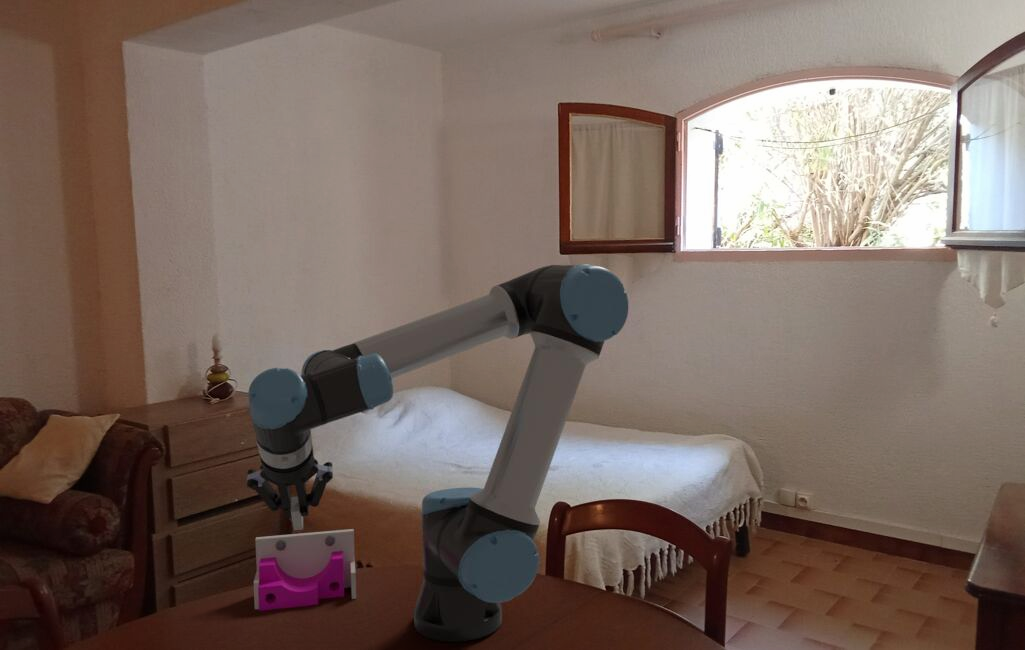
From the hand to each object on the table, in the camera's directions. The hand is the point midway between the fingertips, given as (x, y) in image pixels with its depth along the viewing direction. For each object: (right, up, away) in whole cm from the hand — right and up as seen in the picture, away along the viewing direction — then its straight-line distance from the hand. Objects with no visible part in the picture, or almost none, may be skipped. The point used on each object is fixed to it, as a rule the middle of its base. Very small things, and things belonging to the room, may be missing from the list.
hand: (298, 522), depth 132 cm
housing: (-2, -18, +15) cm, 23 cm away
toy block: (-3, -18, +14) cm, 23 cm away
